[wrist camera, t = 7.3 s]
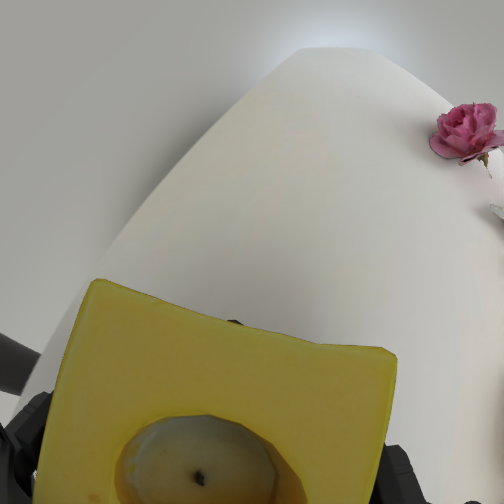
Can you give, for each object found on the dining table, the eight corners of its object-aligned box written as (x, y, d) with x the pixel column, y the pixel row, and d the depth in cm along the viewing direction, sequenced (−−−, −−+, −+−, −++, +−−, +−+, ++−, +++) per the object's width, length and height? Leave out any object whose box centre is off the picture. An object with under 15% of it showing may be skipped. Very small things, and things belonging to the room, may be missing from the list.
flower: (416, 171, 32) (413, 92, 28) (455, 168, 34) (453, 101, 30) (493, 191, 22) (492, 94, 18) (519, 186, 24) (520, 108, 20)
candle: (161, 344, 17) (90, 265, 9) (322, 382, 16) (405, 337, 8) (119, 488, 12) (17, 525, 3) (285, 532, 11) (327, 620, 2)
